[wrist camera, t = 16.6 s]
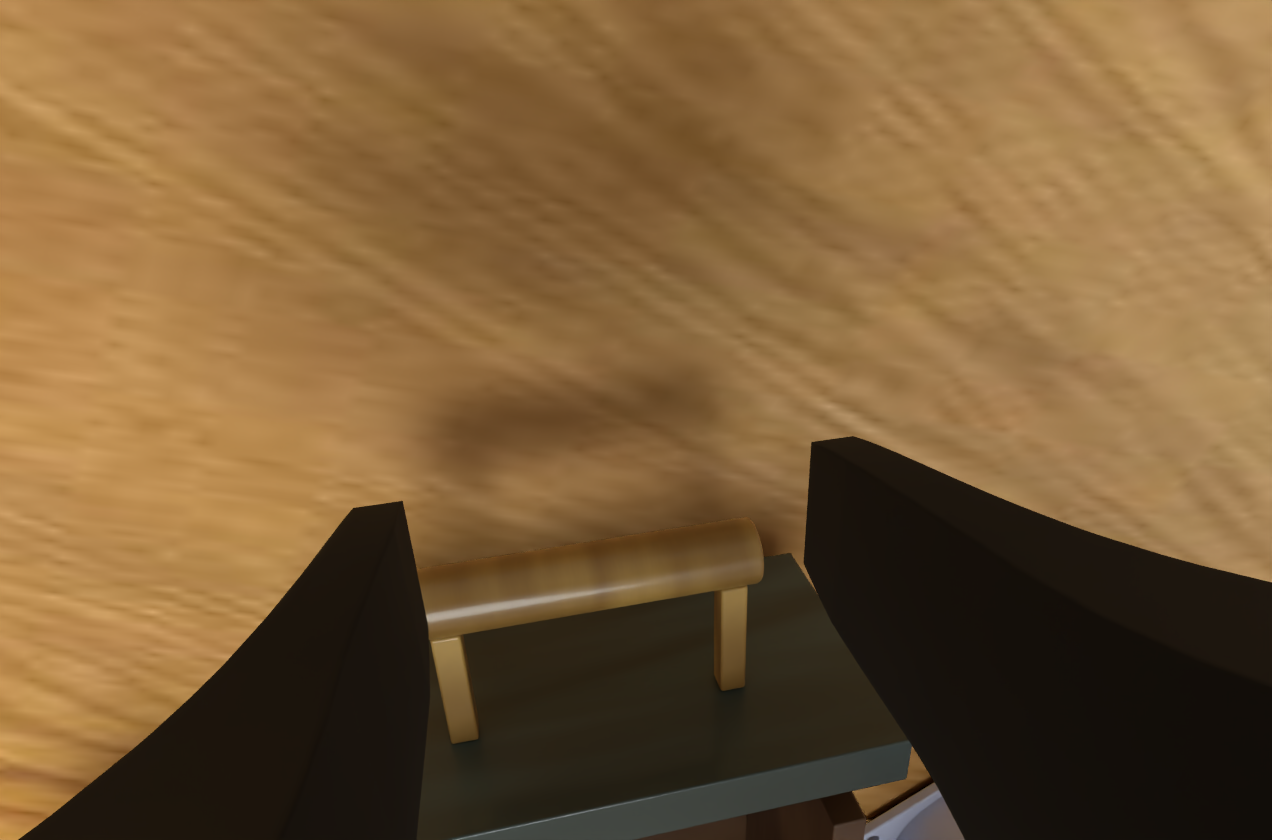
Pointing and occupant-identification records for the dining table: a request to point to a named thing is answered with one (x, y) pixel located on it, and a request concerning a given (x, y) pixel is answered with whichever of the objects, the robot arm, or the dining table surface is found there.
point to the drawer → (645, 696)
